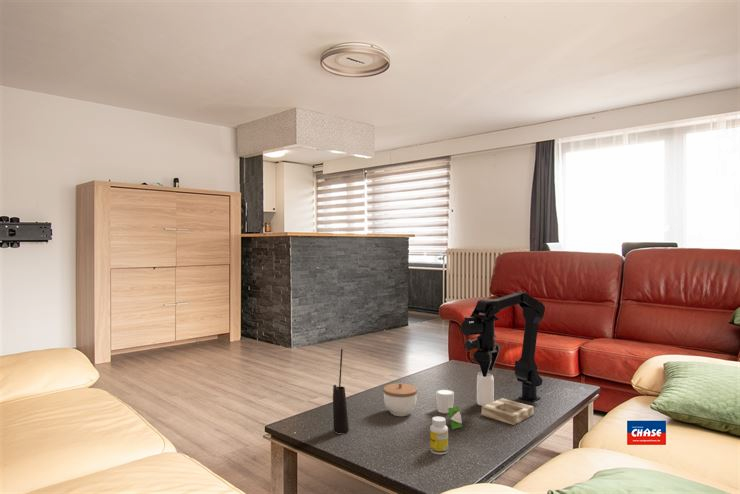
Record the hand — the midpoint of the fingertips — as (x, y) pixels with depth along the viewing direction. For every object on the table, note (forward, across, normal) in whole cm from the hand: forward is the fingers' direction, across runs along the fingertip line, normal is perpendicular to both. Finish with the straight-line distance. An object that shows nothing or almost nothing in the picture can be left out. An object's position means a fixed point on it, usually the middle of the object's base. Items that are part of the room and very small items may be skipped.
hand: (487, 373), depth 177 cm
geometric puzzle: (+13, +24, -5) cm, 28 cm away
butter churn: (+12, +46, -39) cm, 61 cm away
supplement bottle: (+12, +45, -4) cm, 47 cm away
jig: (+13, +5, +8) cm, 16 cm away
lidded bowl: (+12, +21, -27) cm, 37 cm away
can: (+13, -3, -2) cm, 14 cm away
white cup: (+13, +11, -14) cm, 22 cm away
